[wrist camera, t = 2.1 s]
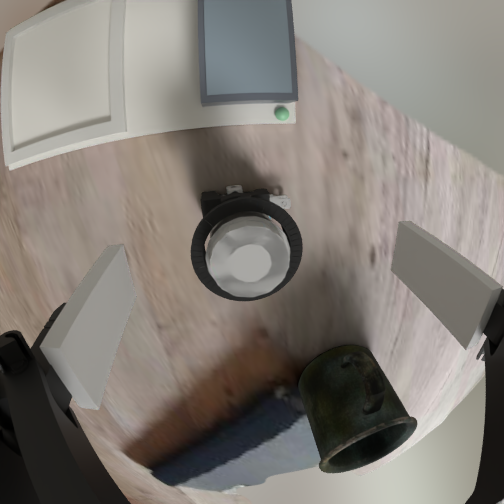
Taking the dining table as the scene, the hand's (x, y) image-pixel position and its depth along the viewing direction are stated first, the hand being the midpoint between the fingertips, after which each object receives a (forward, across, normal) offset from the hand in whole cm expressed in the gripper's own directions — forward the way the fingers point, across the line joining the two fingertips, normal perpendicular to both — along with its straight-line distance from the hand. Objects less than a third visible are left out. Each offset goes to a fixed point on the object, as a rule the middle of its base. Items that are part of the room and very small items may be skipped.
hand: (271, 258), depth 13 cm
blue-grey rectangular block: (+9, 0, +13) cm, 16 cm away
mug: (+10, +10, -20) cm, 25 cm away
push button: (+10, 0, 0) cm, 10 cm away
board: (+10, -8, +13) cm, 18 cm away
